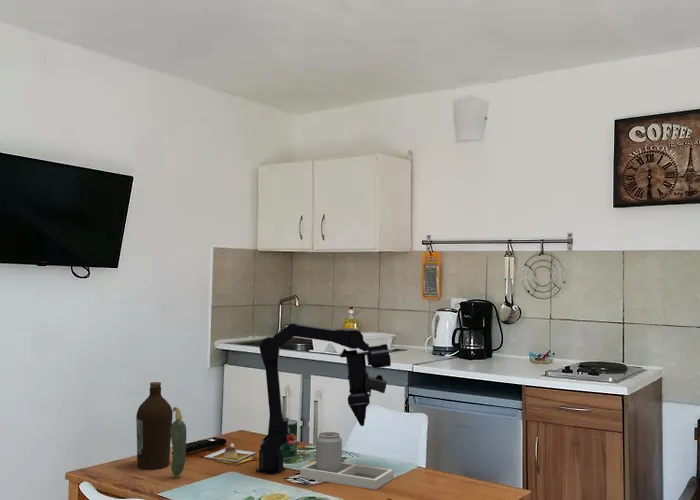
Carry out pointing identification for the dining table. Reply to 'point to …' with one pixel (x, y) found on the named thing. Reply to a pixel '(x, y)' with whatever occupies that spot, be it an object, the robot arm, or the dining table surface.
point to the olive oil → (154, 430)
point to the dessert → (229, 453)
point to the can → (329, 452)
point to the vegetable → (178, 443)
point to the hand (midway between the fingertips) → (363, 422)
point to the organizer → (350, 475)
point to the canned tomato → (290, 441)
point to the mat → (365, 476)
